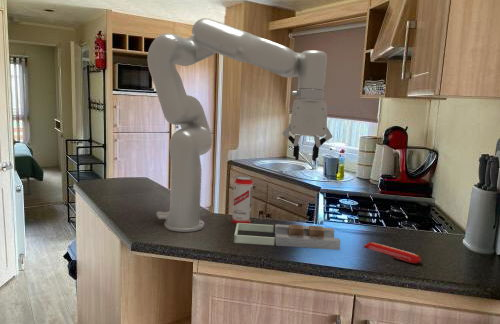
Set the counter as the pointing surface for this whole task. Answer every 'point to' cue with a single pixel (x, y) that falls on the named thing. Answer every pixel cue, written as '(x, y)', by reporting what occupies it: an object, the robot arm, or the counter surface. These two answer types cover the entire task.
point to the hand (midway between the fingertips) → (305, 159)
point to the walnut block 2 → (316, 231)
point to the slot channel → (306, 238)
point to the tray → (254, 238)
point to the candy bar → (394, 252)
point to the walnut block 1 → (296, 230)
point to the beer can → (242, 200)
